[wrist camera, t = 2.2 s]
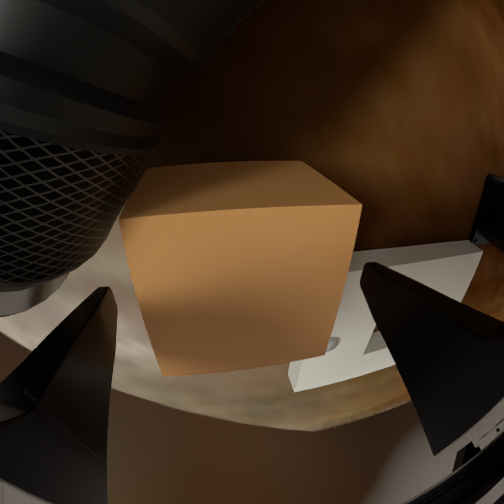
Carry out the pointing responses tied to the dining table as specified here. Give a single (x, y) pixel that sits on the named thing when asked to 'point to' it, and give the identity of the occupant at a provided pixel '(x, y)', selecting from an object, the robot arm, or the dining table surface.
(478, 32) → the dining table surface
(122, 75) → the muzzle brake
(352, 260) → the socket plate
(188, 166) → the plug
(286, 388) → the dining table surface
